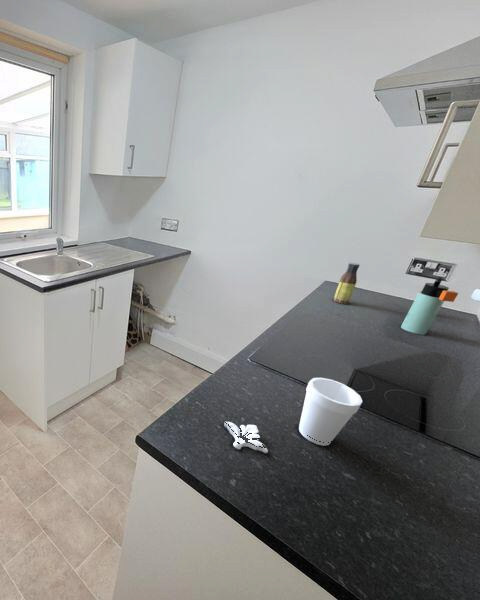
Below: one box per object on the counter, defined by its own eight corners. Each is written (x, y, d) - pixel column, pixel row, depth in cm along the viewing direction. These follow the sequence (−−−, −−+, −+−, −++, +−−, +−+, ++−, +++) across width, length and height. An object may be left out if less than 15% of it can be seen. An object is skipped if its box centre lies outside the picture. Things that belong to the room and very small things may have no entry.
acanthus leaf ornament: (223, 425, 75) (225, 419, 74) (252, 427, 75) (254, 421, 74) (235, 450, 68) (238, 444, 67) (267, 453, 68) (270, 447, 67)
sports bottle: (431, 336, 126) (462, 282, 117) (409, 333, 127) (438, 279, 118) (416, 327, 133) (444, 275, 124) (396, 324, 134) (422, 273, 125)
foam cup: (287, 434, 73) (306, 390, 68) (294, 414, 80) (312, 372, 75) (337, 458, 68) (361, 412, 63) (340, 434, 74) (363, 391, 69)
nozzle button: (453, 302, 117) (458, 293, 116) (442, 300, 118) (447, 291, 116) (449, 300, 119) (454, 291, 117) (438, 298, 119) (443, 290, 118)
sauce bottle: (351, 304, 154) (367, 266, 146) (340, 304, 153) (356, 265, 145) (339, 299, 160) (354, 262, 152) (328, 299, 159) (343, 262, 151)
